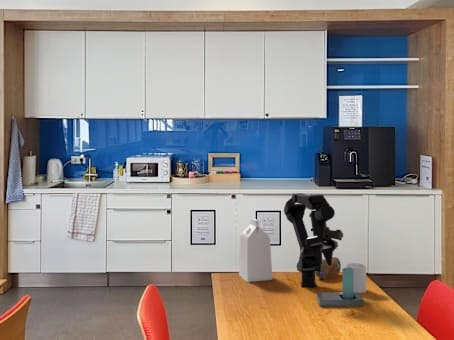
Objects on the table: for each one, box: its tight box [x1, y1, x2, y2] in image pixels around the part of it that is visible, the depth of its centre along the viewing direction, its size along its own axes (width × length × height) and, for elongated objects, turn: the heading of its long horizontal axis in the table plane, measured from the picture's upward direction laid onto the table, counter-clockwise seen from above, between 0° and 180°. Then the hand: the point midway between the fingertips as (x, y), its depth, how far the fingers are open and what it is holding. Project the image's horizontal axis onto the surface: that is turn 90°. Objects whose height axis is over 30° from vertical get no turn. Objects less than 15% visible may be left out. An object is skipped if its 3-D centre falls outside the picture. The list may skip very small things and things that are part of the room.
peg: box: [342, 267, 353, 299], centre depth 218 cm, size 4×4×13 cm
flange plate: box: [316, 291, 365, 308], centre depth 220 cm, size 10×16×3 cm, turn 88°
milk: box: [238, 218, 273, 283], centre depth 259 cm, size 12×12×26 cm
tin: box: [315, 256, 342, 280], centre depth 258 cm, size 15×3×8 cm, turn 131°
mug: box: [345, 262, 367, 294], centre depth 237 cm, size 12×8×10 cm, turn 1°
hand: (325, 264), depth 227 cm, fingers open, 9 cm apart
